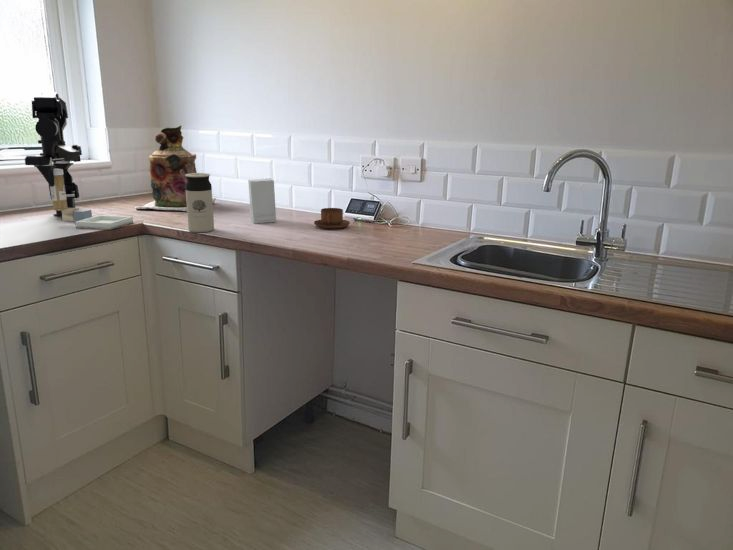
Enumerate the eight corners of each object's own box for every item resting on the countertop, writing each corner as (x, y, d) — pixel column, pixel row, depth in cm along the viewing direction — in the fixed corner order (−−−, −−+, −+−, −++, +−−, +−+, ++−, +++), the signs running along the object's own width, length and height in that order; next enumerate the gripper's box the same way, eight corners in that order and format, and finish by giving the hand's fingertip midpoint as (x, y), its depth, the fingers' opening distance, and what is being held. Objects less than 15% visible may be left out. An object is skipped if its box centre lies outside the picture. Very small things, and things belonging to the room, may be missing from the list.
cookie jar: (163, 201, 242) (156, 124, 234) (218, 203, 239) (213, 125, 230) (132, 210, 219) (124, 125, 210) (193, 212, 216) (186, 126, 207)
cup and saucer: (352, 230, 186) (352, 212, 185) (315, 231, 184) (315, 212, 183) (347, 224, 198) (347, 206, 196) (312, 224, 196) (312, 207, 194)
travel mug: (193, 227, 187) (189, 172, 182) (217, 228, 187) (213, 173, 182) (185, 232, 179) (180, 175, 174) (210, 233, 179) (206, 175, 174)
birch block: (70, 218, 201) (69, 207, 199) (80, 219, 200) (79, 208, 199) (62, 220, 197) (61, 209, 196) (73, 221, 196) (71, 209, 195)
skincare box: (273, 219, 203) (271, 178, 199) (276, 222, 198) (275, 179, 193) (249, 221, 200) (247, 178, 196) (252, 224, 195) (250, 180, 191)
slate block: (82, 220, 198) (80, 209, 197) (92, 221, 197) (91, 209, 196) (74, 222, 194) (73, 211, 193) (85, 223, 193) (83, 211, 192)
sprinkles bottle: (68, 210, 188) (63, 169, 184) (53, 211, 185) (47, 169, 182) (67, 208, 191) (62, 168, 188) (52, 209, 189) (46, 168, 185)
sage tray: (100, 220, 197) (99, 215, 196) (133, 222, 195) (132, 216, 194) (76, 227, 185) (75, 221, 184) (111, 229, 183) (110, 223, 182)
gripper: (51, 138, 172) (58, 190, 176) (91, 136, 189) (97, 183, 193) (19, 137, 174) (27, 188, 178) (62, 135, 191) (68, 182, 196)
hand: (57, 185), depth 186 cm, fingers closed on sprinkles bottle, 4 cm apart
